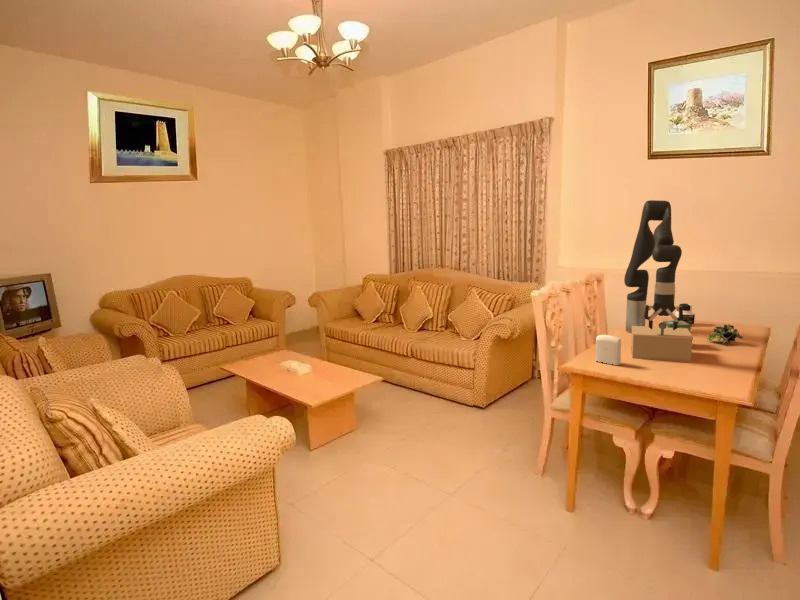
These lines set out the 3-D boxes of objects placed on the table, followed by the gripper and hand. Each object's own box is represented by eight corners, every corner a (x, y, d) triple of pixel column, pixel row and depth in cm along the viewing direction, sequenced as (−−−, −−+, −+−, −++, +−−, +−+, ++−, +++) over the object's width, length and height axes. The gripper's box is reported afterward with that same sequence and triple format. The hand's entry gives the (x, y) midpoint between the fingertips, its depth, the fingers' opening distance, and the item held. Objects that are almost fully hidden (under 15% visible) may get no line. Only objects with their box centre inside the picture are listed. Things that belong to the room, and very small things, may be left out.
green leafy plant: (727, 352, 218) (747, 334, 213) (723, 354, 210) (743, 335, 205) (706, 336, 224) (725, 318, 219) (701, 337, 217) (720, 318, 211)
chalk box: (690, 348, 210) (692, 317, 207) (668, 348, 212) (670, 317, 209) (682, 343, 219) (684, 313, 216) (661, 343, 221) (662, 313, 218)
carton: (631, 348, 215) (632, 327, 214) (685, 351, 206) (686, 330, 204) (632, 357, 201) (633, 336, 199) (690, 362, 192) (692, 339, 190)
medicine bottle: (680, 326, 249) (681, 305, 247) (674, 323, 256) (675, 302, 254) (694, 326, 248) (695, 305, 245) (688, 323, 254) (689, 302, 252)
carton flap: (631, 327, 214) (632, 314, 212) (687, 330, 204) (688, 316, 203) (633, 335, 199) (633, 321, 198) (693, 339, 190) (694, 324, 189)
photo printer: (593, 361, 198) (594, 334, 196) (597, 359, 201) (598, 332, 199) (618, 366, 191) (619, 338, 189) (621, 363, 194) (623, 336, 192)
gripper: (682, 291, 193) (680, 328, 196) (645, 290, 199) (643, 326, 202) (685, 294, 186) (683, 332, 189) (646, 293, 192) (644, 330, 195)
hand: (662, 329), depth 195 cm, fingers open, 8 cm apart
